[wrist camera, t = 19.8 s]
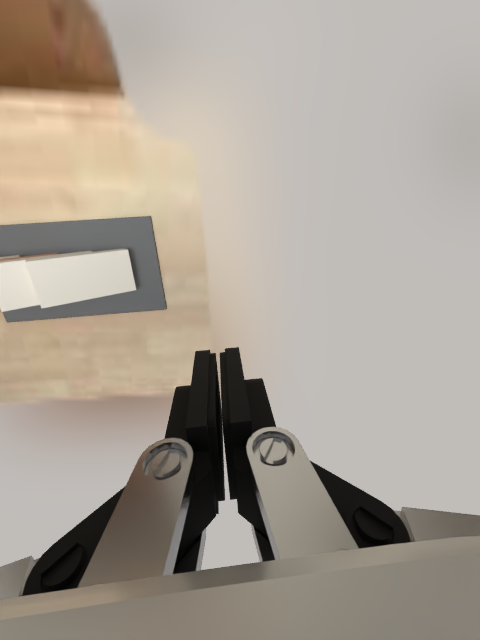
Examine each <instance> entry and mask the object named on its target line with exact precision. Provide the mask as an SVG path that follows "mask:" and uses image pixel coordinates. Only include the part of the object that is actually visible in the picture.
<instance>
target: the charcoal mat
mask: <svg viewBox="0 0 480 640" xmlns="http://www.w3.org/2000/svg"><path fill="white" fill-rule="evenodd" d="M122 248H125V249H128V252H129V257H130V262H131V267H132V272H133V277H134V281H135V286H136V290H134V291H129V292H124V293H119V294H114V295H109V296H103V297H98V298H93V299H88V300H83V301H78V302H73V303H68V304H63V305H58V306H52V307H47V308H41V306H40V305H36V306H31V307H25V308H20V309H15V310H10V311H5V312H3V314H4V317H5V319H6V321H7V322H19V321H31V320H43V319H55V318H67V317H79V316H92V315H104V314H116V313H128V312H140V311H152V310H164V309H167V308H166V302H165V296H164V290H163V285H162V279H161V273H160V267H159V261H158V256H157V250H156V244H155V238H154V232H153V226H152V221H151V216H147V217H131V218H115V219H98V220H82V221H66V222H50V223H34V224H18V225H2V226H0V257H5V256H15V255H20V257H23V256H32V255H41V254H50V253H57V254H65V253H73V252H82V251H92V252H96V251H105V250H113V249H122Z"/></svg>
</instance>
